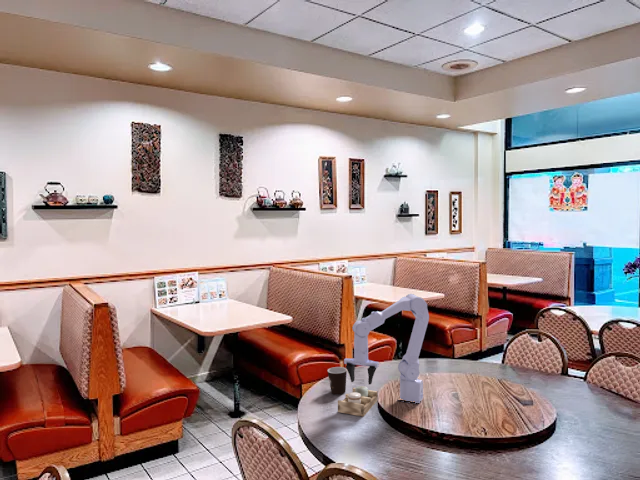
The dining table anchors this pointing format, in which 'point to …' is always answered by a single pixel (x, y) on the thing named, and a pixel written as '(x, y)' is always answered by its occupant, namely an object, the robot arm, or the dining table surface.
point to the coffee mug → (337, 380)
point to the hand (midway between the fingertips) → (361, 382)
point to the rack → (354, 408)
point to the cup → (354, 397)
